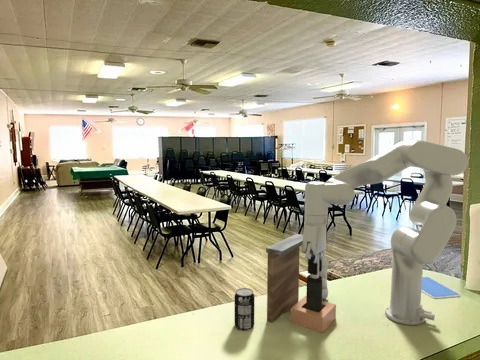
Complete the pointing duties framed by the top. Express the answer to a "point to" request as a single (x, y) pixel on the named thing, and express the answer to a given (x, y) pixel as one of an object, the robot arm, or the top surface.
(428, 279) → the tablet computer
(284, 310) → the brown board grey top
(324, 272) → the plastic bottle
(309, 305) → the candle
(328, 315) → the socket block
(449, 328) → the top surface
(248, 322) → the beverage can
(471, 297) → the top surface
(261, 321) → the top surface
